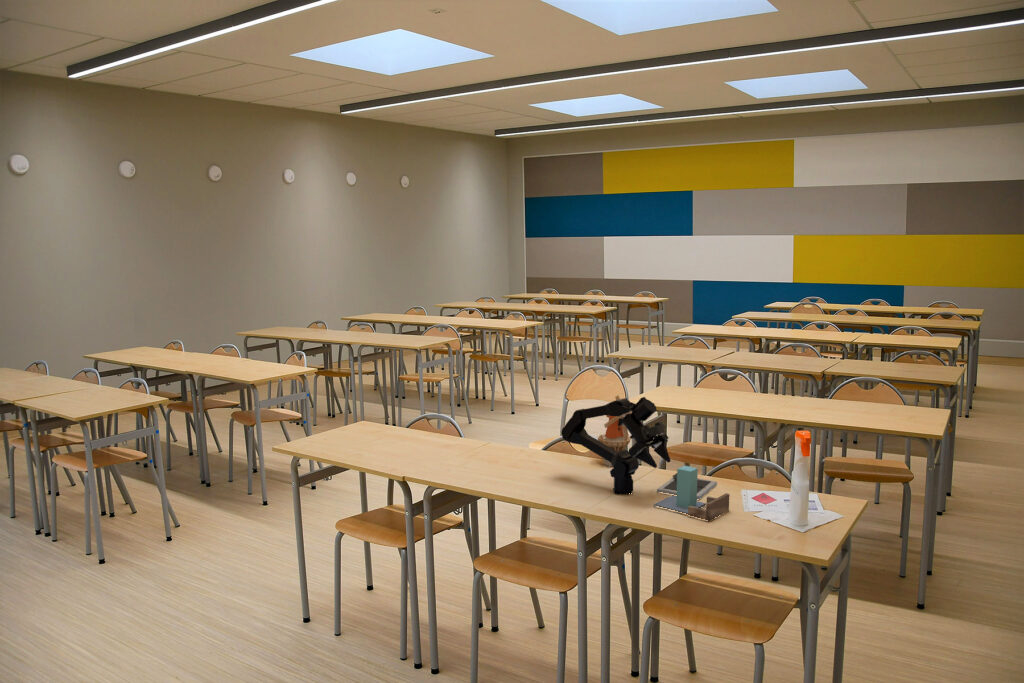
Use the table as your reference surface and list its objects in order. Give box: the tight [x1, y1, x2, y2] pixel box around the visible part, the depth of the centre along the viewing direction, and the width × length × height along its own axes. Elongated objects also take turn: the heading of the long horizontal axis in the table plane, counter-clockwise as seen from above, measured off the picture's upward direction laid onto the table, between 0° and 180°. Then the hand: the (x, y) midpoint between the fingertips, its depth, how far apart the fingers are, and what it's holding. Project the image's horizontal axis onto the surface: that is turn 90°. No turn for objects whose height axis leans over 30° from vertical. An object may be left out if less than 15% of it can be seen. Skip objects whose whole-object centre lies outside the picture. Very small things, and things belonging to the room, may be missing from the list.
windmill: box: [597, 394, 632, 468], centre depth 317 cm, size 17×14×30 cm
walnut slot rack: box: [688, 492, 730, 522], centre depth 261 cm, size 8×14×6 cm, turn 139°
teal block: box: [676, 465, 699, 508], centre depth 267 cm, size 5×5×13 cm
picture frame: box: [656, 472, 718, 500], centre depth 288 cm, size 16×3×21 cm
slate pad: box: [653, 495, 707, 514], centre depth 269 cm, size 13×13×1 cm
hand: (663, 464), depth 272 cm, fingers open, 9 cm apart
